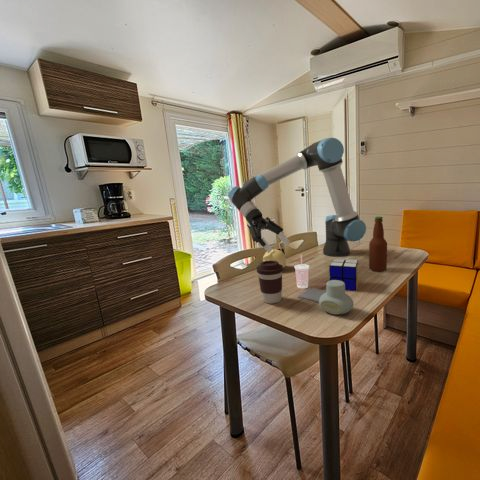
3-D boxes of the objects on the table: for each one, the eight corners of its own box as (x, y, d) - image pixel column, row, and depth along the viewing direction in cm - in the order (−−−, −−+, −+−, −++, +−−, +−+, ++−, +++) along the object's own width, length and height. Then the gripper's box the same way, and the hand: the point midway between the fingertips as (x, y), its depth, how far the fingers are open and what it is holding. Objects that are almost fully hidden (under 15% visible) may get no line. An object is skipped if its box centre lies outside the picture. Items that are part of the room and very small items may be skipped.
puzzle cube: (329, 288, 107) (329, 265, 105) (333, 280, 116) (333, 258, 114) (356, 291, 103) (356, 267, 101) (358, 282, 111) (358, 259, 109)
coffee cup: (271, 308, 95) (268, 268, 92) (253, 300, 103) (250, 263, 100) (290, 299, 100) (288, 262, 97) (272, 292, 108) (270, 257, 105)
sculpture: (266, 265, 145) (265, 246, 143) (288, 265, 141) (287, 246, 139) (261, 272, 134) (259, 251, 132) (284, 273, 130) (283, 252, 128)
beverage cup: (292, 286, 112) (290, 255, 109) (301, 282, 116) (299, 252, 113) (304, 290, 108) (302, 257, 105) (312, 285, 111) (311, 254, 109)
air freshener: (315, 311, 90) (314, 283, 88) (325, 302, 96) (325, 276, 94) (347, 320, 83) (347, 290, 81) (356, 309, 89) (356, 281, 87)
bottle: (385, 267, 125) (387, 215, 120) (387, 272, 119) (388, 217, 113) (368, 266, 128) (369, 216, 123) (369, 271, 122) (369, 218, 117)
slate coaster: (310, 288, 109) (310, 287, 108) (334, 294, 102) (334, 292, 102) (297, 297, 102) (297, 296, 101) (322, 303, 95) (322, 302, 95)
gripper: (263, 215, 134) (290, 246, 127) (229, 223, 117) (257, 259, 109) (271, 204, 129) (299, 236, 122) (236, 211, 112) (266, 248, 105)
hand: (279, 247), depth 116 cm, fingers open, 13 cm apart
